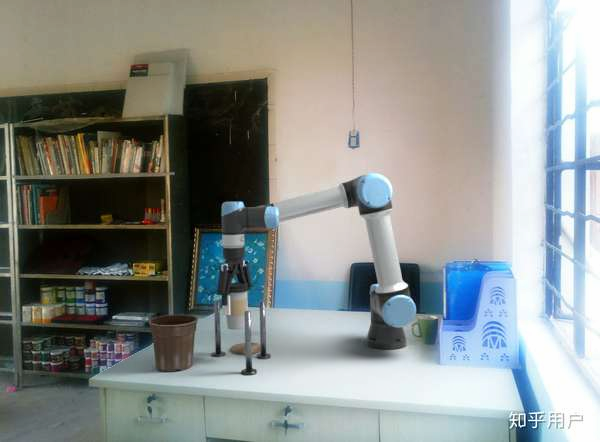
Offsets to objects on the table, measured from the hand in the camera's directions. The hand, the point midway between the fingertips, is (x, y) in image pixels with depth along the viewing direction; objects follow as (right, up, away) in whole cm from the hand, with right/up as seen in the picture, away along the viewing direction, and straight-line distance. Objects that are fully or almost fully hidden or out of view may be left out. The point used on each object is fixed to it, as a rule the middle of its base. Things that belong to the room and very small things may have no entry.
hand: (235, 311), depth 182 cm
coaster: (+2, -17, +15) cm, 23 cm away
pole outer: (+6, -18, -11) cm, 22 cm away
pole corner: (+9, -17, +6) cm, 20 cm away
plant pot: (-20, -18, -3) cm, 27 cm away
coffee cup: (0, -6, 0) cm, 6 cm away
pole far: (-7, -17, +9) cm, 21 cm away
